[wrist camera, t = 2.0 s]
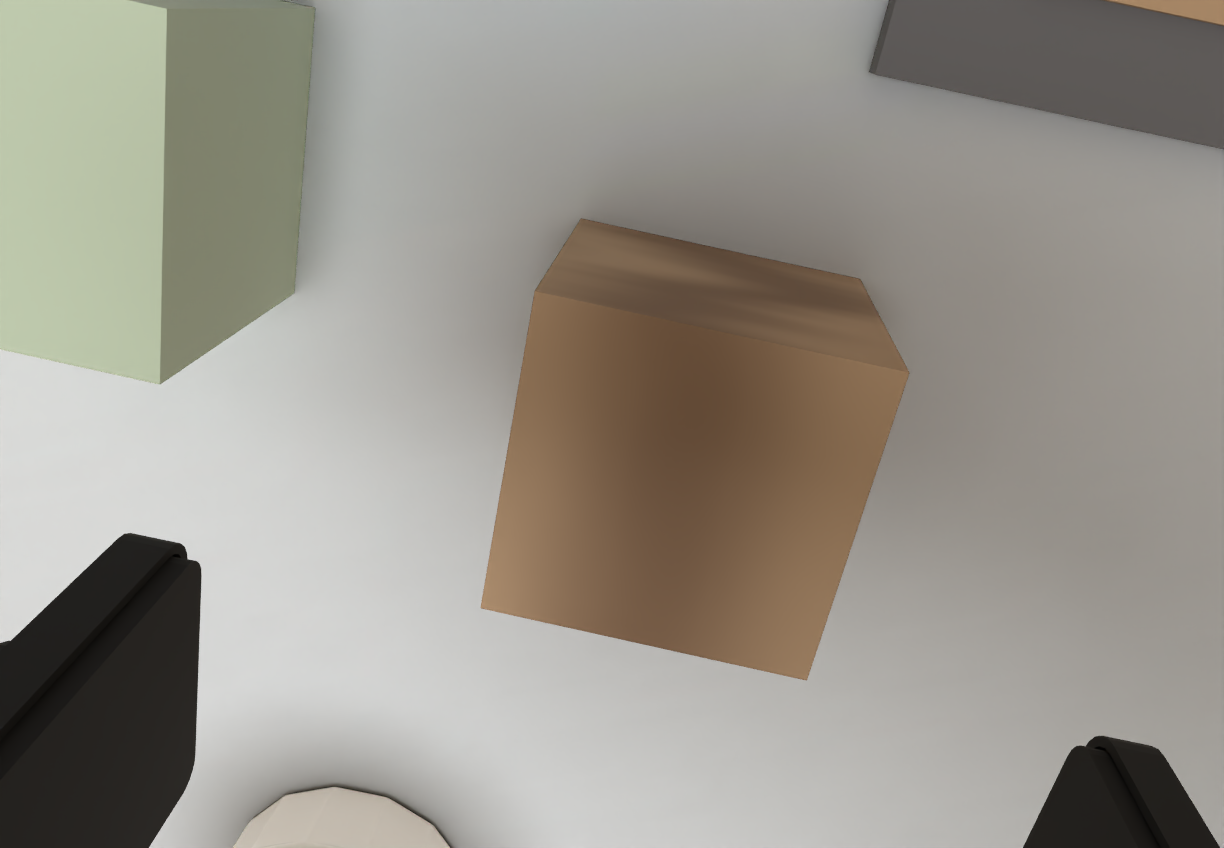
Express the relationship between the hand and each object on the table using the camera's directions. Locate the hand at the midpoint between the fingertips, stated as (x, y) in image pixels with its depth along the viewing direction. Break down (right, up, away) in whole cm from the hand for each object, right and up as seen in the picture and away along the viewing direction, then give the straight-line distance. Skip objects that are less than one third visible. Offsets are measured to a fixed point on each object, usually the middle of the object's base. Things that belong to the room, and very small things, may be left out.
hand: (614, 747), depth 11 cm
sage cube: (-9, +10, +11) cm, 17 cm away
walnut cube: (+2, +4, +12) cm, 13 cm away
